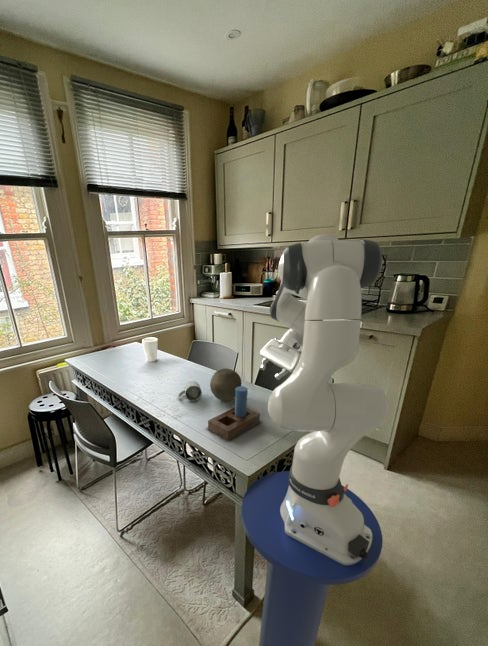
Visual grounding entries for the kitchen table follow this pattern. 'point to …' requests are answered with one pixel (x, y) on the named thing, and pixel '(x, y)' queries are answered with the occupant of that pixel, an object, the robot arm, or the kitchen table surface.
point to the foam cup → (150, 348)
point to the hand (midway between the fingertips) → (268, 373)
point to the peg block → (232, 423)
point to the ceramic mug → (191, 391)
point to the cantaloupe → (225, 384)
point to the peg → (241, 401)
